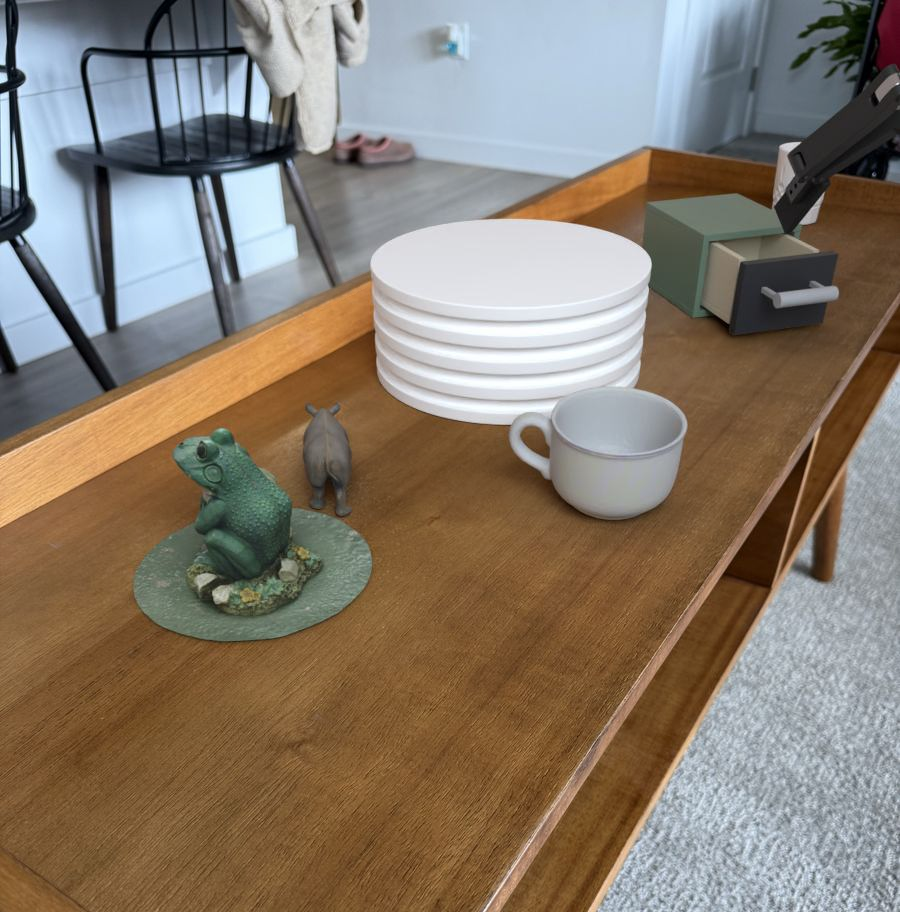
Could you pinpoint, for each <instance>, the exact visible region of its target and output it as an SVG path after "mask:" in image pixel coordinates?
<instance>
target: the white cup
mask: <svg viewBox="0 0 900 912" xmlns="http://www.w3.org/2000/svg"><path fill="white" fill-rule="evenodd" d="M801 142H802V141H793V142H792V141H791V142H785V143H782V144H780V145H779V147H778V152H777V153H778V154H777V161H776V167H775V168H776V169H775V174H774V181H773V182H774V183H773V191H772V203H771V204H772V205H771V210H773V211H775V209H774V206H775V205H776V203H777V202H778V201H779V199H780V198H781V197H782V195H783V194H784V193H785V190H786V187H787V186H788V184H789V183H790V182H791V180H792V179H793V177H794V176H795V174H794V172H793V169H792V167H791V165H790V162H789V160H788V157H787V155H788V153H789V152H790V151H792V150H793V149H794V148H795V147H796V146H798V145H799V144H800V143H801ZM825 193H826V191H825V192H824V193H823V195H822V196H821V197H820V198H819V199H818V201H817V202H816V203H815V204H814V206H813V207H812V208H811V209H810V211H809V212H808V213H807V214H806V216H805V217H804V218H803V219H802V221H801V222H800V224H802V226H806V225H811V224H814V223H816V222H817V221H818V219H819V214H820V209H821V207H822V206H821V205H822V203H823V201H824V197H825ZM775 212H776V211H775Z"/></svg>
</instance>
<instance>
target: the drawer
mask: <svg viewBox="0 0 900 912" xmlns="http://www.w3.org/2000/svg"><path fill="white" fill-rule="evenodd" d="M838 258H839V253H837V252H835V251H833V250H829V251H820V249H818V248H816V247H814V246H813V245H811V244H808V243H806V242H804V241H803V240H800V238H799V239H797V238H795V237H793V236H791V235H789V234H787V233H782V234H773V235H764V236H755V237H746V238H737V239H728V240H719V241H710V242H709V248H708V255H707V262H706V268H705V275H704V282H703V289H702V296H701V303H700V305H702V306H703V307H705V308H706V309H708V310H709V311H710V312H712V313H713V314H715V315H714V316H716V317H718V318H719V319H721V320H722V321H724V323H727V324H728V325H729V328H728V332H729V333H730V334H731V335H733V336H738V335H739V336H740V335H747V334H754V333H760V332H768V331H776V330H783V329H790V328H798V327H805V326H811V325H819V324H820V325H821V324H823V323H824V320H825V315H826V311H827V307H828V303H830V302H831V303H832V302H836V301H837V300H838V298H839V295H840V291H839V288H838V287H837V286H836V285H832V284H833V280H834V276H835V271H836V267H837V263H838Z"/></svg>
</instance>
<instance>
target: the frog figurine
mask: <svg viewBox="0 0 900 912" xmlns="http://www.w3.org/2000/svg"><path fill="white" fill-rule="evenodd" d="M172 458H173V460H174V462H175V463H176V466H177V467H178V468H179V470H181V472H183V474H184V475H186V477H188V478H189V479H190V480H192V481H193V482H194V483H195V484H197V486H199V487H200V488H201V490H202V495H201V496H200V498H199V512H198V514H197V516H196V518H195V520H194V522H193V523H190V524H187V525H185V526H184V527H183V528H181V529H178V530H177V531H174V532H172V533H170V534H169V535H168V536H166V537H165V538H164V539H162V540H161V541H159V542H157V544H155V545H154V546H153V547H152V548H151V549H150V550H149V551H148V552H147V553H146V555H145V556H144V557H143V558H142V559H141V562H140V564H139V565H138V566H137V568H136V570H135V574H134V577H133V582H132V589H133V590H132V591H133V597H134V599H135V601H136V603H137V606H138V607H139V608H140V610H141V611H142V612H143V613H144V614H145V616H147V617H148V618H150V620H151V621H153V622H154V623H155V624H157V625H158V626H160V627H161V628H164V629H166V630H169V631H172V632H175V633H177V634H180V635H184V636H187V637H192V638H197V639H201V640H208V641H215V642H239V641H241V642H242V641H243V642H244V641H258V640H270V639H277V638H280V637H284V636H288V635H291V634H294V633H296V632H299V631H301V630H304V629H307V628H310V627H312V626H315V625H316V624H318V623H321V622H323V621H325V620H327V619H329V618H331V617H333V616H335V615H337V614H338V613H340V612H342V611H343V610H344V609H345V608H346V607H347V606H348V605H350V604H351V603H352V602H353V601H354V600H355V599H356V598H357V597H358V596H359V595H360V594H361V593H362V591H363V590H364V589H365V587H366V585H368V582H369V580H370V577H371V576H372V575H371V574H372V571H373V557H372V556H373V555H372V552H371V548H370V546H369V544H368V542H367V541H366V539H365V538H364V537H363V535H362V534H361V533H360V532H358V531H356V529H354V528H353V527H351V526H349V525H348V524H346V523H345V522H344V521H342V520H340V519H339V518H335V517H333V516H331V515H328V514H326V513H321V512H317V511H314V510H308V509H303V508H298V507H293V505H292V504H293V500H292V499H291V497H290V495H289V494H288V493H287V492H286V490H284V489H283V488H282V487H281V486H279V485H277V483H278V481H277V478H276V476H275V475H274V473H272V472H271V471H269V470H268V469H266V468H264V467H262V466H258V465H257V464H256V463H255V462H254V460H252V458H251V456H250V454H249V452H248V451H247V449H246V448H245V447H243V446H242V445H241V444H239V443H238V442H236V441H235V436H234V434H233V433H232V432H231V431H230V430H228V429H227V428H224V427H219V428H216V429H214V430H213V431H212V433H211V434H210V435H208V436H207V435H205V436H204V435H202V436H191V437H187V438H185V439H184V440H183V441H182V442H179V443H178V444H177V445H176V446H175V448H173V451H172Z"/></svg>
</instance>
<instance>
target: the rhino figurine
mask: <svg viewBox="0 0 900 912" xmlns="http://www.w3.org/2000/svg"><path fill="white" fill-rule="evenodd" d="M304 406H305V407H304V408H305V409H304V410H305V411H306V413H308V414H309V415H311V416H312V419H311V420H310V421H309V423H308V425H307V426H306V427H305V430H304V433H303V437H302V460H303V463H304V471H305V474H306V477H307V479H308V482H309V483H310V485H311V487H312V499H311V500H310V501H309V502H308V506H309V507H310V508H312V509H314V510H322V509H324V508H325V506H326V498H325V497H324V496H325V492H326V489H325V488H326V484H327V481H328V478H329V479H330V482H331V484H332V486H333V489H334V500H335V504H336V505H335V508H334V511H335V515H336V516H337V517H345V516H348V515H350V514H351V513H352V512H353V509H352V507H351V506H350V505H348V504H347V501H348V500H347V499H348V486H349V482H350V480H351V476H352V472H353V471H352V470H353V465H352V458H353V452H352V448H351V444H350V439H349V435H348V433H347V430H346V428H345V427H344V426H343V424H341V423H340V422H339V421H338V420H337V418H336V417H334V416H335V415H336V414H337V413H338V412H340V410H341V404H340V402H335V403H334V404H332V406H331V407H330V408H329V409H327V408H323V407H322V408H319V409H316V408H315V407H314V406H313V405H312V404H310V403H309V402H306V403H305V405H304Z"/></svg>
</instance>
